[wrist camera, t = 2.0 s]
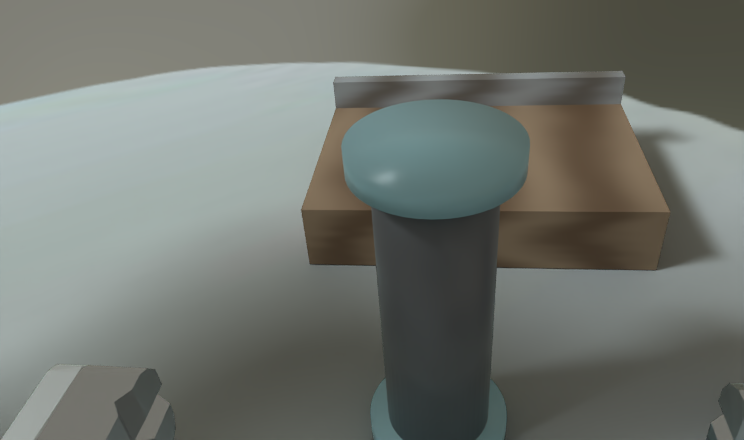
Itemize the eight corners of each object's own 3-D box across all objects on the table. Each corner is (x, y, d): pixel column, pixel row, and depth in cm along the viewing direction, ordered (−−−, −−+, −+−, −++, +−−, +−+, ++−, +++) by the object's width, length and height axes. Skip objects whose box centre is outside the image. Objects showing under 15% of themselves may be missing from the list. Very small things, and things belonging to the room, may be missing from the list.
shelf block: (309, 264, 39) (296, 180, 35) (343, 149, 50) (335, 77, 47) (656, 270, 36) (678, 180, 33) (609, 147, 48) (622, 71, 44)
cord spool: (364, 479, 27) (327, 190, 19) (378, 369, 32) (354, 100, 23) (509, 488, 26) (539, 191, 18) (502, 374, 31) (522, 97, 23)
